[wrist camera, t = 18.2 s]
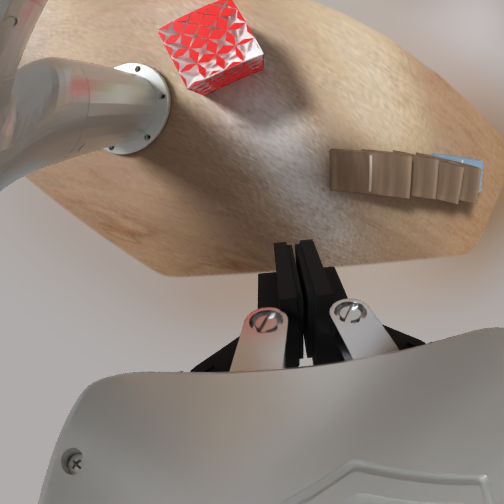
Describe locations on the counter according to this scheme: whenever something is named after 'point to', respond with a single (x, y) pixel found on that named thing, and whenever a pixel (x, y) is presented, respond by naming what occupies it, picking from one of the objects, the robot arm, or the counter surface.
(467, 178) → the domino
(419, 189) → the domino
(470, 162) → the domino
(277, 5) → the counter surface
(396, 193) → the domino
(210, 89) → the red patterned cube
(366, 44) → the counter surface
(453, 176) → the domino
